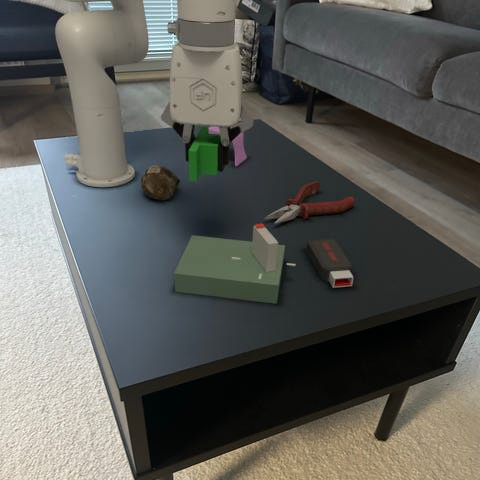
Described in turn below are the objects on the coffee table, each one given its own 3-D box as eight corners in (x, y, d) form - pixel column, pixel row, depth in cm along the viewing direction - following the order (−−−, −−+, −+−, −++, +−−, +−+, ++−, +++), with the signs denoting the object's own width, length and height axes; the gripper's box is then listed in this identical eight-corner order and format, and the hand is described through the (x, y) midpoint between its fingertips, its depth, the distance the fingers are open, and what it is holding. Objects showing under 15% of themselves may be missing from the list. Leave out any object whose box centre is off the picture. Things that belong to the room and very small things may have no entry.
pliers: (248, 216, 99) (248, 203, 97) (314, 189, 110) (315, 178, 108) (290, 238, 93) (292, 226, 91) (356, 208, 104) (358, 196, 102)
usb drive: (333, 249, 90) (335, 235, 88) (357, 287, 81) (360, 272, 79) (305, 251, 89) (307, 237, 88) (326, 289, 80) (329, 275, 78)
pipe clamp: (214, 183, 74) (214, 153, 71) (189, 181, 74) (188, 151, 72) (224, 155, 83) (224, 127, 80) (202, 154, 83) (201, 126, 80)
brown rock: (153, 169, 109) (127, 193, 103) (163, 148, 104) (136, 172, 98) (181, 191, 110) (157, 216, 104) (192, 171, 105) (167, 196, 99)
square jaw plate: (275, 270, 77) (278, 240, 74) (266, 272, 77) (268, 242, 74) (260, 251, 82) (262, 222, 78) (251, 253, 81) (253, 224, 78)
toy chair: (217, 150, 127) (217, 86, 118) (248, 156, 124) (251, 92, 115) (201, 160, 121) (200, 95, 112) (234, 167, 118) (236, 101, 109)
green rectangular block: (175, 291, 78) (173, 272, 76) (192, 252, 87) (191, 234, 85) (290, 305, 76) (292, 285, 74) (295, 264, 86) (297, 245, 83)
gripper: (137, 35, 65) (149, 172, 76) (265, 43, 63) (257, 181, 75) (153, 26, 71) (161, 154, 82) (271, 33, 69) (262, 163, 81)
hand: (207, 166), depth 78 cm, fingers closed on pipe clamp, 3 cm apart
